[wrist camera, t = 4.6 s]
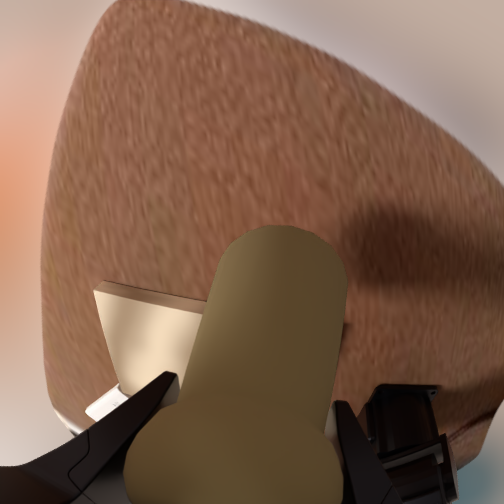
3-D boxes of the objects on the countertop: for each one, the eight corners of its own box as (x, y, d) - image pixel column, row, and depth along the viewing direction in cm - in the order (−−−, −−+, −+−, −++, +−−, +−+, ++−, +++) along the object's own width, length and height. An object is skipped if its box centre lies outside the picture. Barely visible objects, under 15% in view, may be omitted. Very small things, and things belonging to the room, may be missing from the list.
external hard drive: (89, 404, 35) (121, 379, 30) (135, 437, 37) (178, 420, 32) (84, 412, 34) (115, 389, 29) (131, 445, 36) (174, 430, 30)
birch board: (330, 320, 21) (330, 334, 20) (298, 419, 27) (297, 431, 26) (103, 280, 23) (93, 290, 22) (128, 382, 29) (122, 392, 28)
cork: (351, 333, 14) (350, 565, 5) (234, 341, 16) (158, 540, 6) (341, 215, 12) (372, 527, 2) (200, 235, 14) (32, 453, 4)
